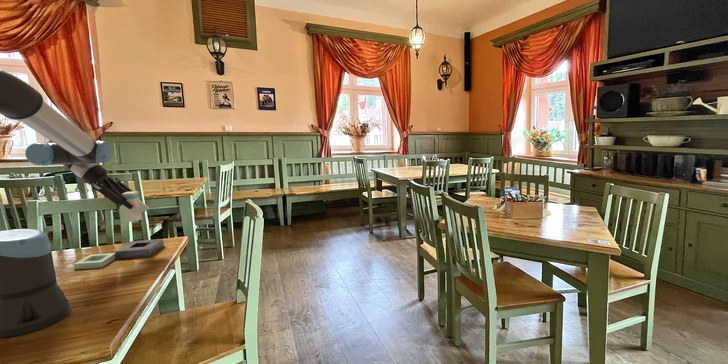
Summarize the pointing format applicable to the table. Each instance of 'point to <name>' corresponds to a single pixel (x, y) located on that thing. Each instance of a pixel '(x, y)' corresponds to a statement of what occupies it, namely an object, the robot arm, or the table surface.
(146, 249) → the socket block
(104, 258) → the pale green square slab
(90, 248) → the table surface
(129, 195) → the plug peg
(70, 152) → the robot arm
